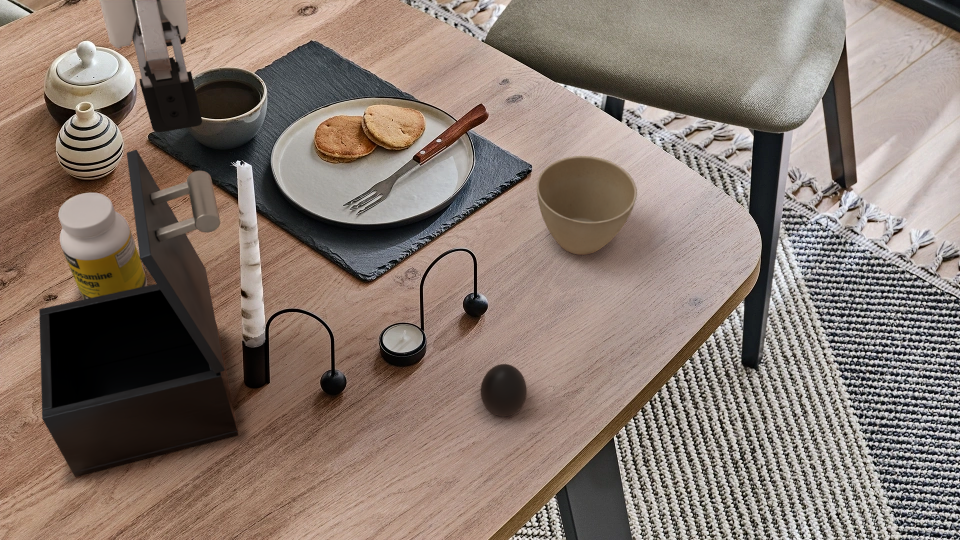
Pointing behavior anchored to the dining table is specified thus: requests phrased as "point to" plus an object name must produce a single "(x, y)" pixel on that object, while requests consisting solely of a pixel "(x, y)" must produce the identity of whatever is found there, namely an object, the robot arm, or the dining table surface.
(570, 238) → the tan bowl
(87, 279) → the pill bottle
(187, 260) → the lid
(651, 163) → the dining table surface
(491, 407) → the egg
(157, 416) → the compartment
